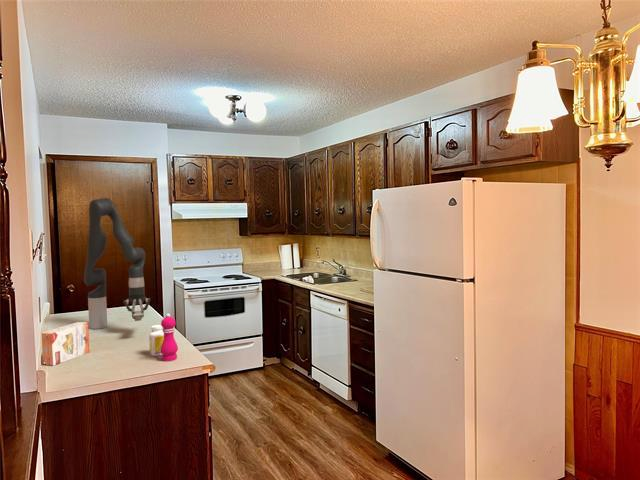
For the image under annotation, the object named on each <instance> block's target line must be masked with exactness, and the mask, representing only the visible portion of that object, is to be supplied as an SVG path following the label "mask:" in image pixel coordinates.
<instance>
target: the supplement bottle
mask: <svg viewBox="0 0 640 480" xmlns="http://www.w3.org/2000/svg"><path fill="white" fill-rule="evenodd" d="M150 329H151V331H150V332H149V336H148V337H149V355H150V356H152V357H159V356H162V355H163V354H162V353H161V351H160V350H161V345H162V343H163V340H164V332H163V330H162V329H163V327H162V326H161V324H156V325H151V328H150Z"/></svg>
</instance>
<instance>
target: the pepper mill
mask: <svg viewBox="0 0 640 480" xmlns="http://www.w3.org/2000/svg"><path fill="white" fill-rule="evenodd" d="M176 324H177V323H176V319H175V318H174V317H172V316H171V314H170V313H166V314H165V317H164V318H162V320H161V321H160V325H161V326H162V331H163V332H164V340H163V343H162V345H161V350H160V351H161V353H162V354H163V355H161V360H162V361H163V362H172V361H176V360H177V359H178V354H177V352H178V351H179V348H178V347H179V346H178V343H177V342H176V340H175V336H174V333H175V326H176Z"/></svg>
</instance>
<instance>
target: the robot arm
mask: <svg viewBox="0 0 640 480" xmlns="http://www.w3.org/2000/svg"><path fill="white" fill-rule="evenodd" d="M88 206H89V207H88V218H89V219H88V224H89V225H88V237H87V239H88V240H87V251H86V252H87V253H86V261H85V267H84V272H83V274H84V275H83V282H84V284H85V285H86V287H87V286H89V287H90V286H97V287H96V288H94V289H93V290H91V291H89V292H88V293H87V302H88V303H87V306H88V329H90V330H99V329H105V328H107V327H108V309H107V307H108V306H107V305H108V304H107V271H106V269H105V268H103V267H100V268H95V265H96V263H97V262H98V261H99V259H101V257H102V256H103V254H104V253H105V251H106V249H107V244H108V243H107V241H108V240H107V239H108V237H107V234H106V233H105V231H104V230H103V228H102V225H101V218H102V217H104V216H108V217H109V219H110V220H111V222H112V233H113V236H114V238H115V240H116V241H117V243H118V244H119V246H120V247H121V248H120V249H121V251H122V254H123V256H124V258H125V260H127V261H128V262H131V263H132V265H131V266H129V267H128V294H129V295H128V298H127V299H126V300H123V304H124V306H125V307H126V309H127V311H128V312H130V313H131V317H132V319H133V320H135V317H133V314H135V311H136V310H135V309H136V306H139V308H140V311H141V313H144V314H145V312H144V311H147V309H148V308H149V305H150V302H151V298H150V297H149V298H147V297H146V295H145V294H146V293H145V279H144V266H145V261H146V252H145V249H144V248H143V247H134V246H133V244H134V242H135V240H134V238H133V237H132V235H131V234H130V232H129V231H128V229H127V228H126V226H125V224H124V223H123V220H122V218H121V217H120V214H119V211H118V210H117V208H116V206H115V204H114V202H113V201H112V200H111V198H109V197H101V198H96V199H92V200H91V201H90V202H89V205H88ZM129 303H130V304H131V307H130V306H129ZM143 303H145V305H144V306H143Z"/></svg>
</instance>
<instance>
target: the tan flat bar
mask: <svg viewBox="0 0 640 480" xmlns="http://www.w3.org/2000/svg"><path fill="white" fill-rule="evenodd" d="M134 312H135V314H133V317H135V319H134V321H135V322H140V321H142V319H143V318H144V316H145V312H144V313H141V310H138V311H137V310H134Z"/></svg>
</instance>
